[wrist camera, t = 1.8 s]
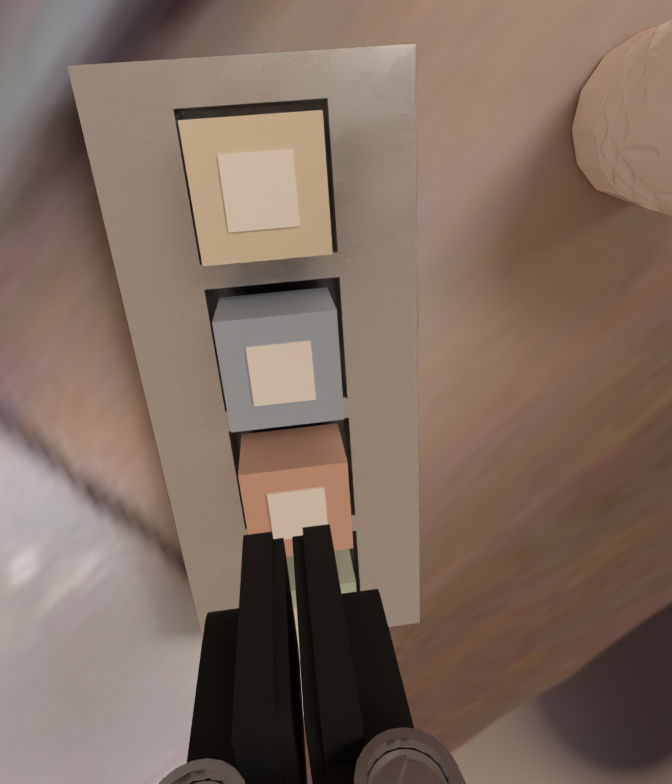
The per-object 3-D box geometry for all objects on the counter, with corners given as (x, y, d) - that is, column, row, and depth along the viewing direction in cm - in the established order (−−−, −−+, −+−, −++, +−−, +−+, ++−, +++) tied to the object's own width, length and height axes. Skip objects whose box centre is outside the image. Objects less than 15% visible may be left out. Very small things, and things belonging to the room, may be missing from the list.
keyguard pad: (397, 55, 22) (415, 43, 20) (407, 584, 34) (419, 622, 31) (92, 75, 21) (67, 65, 19) (210, 611, 33) (205, 653, 30)
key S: (314, 115, 21) (322, 109, 17) (323, 238, 22) (333, 255, 19) (191, 124, 20) (177, 120, 17) (211, 248, 22) (202, 267, 19)
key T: (327, 287, 23) (336, 310, 20) (334, 384, 25) (344, 420, 22) (219, 297, 23) (211, 323, 20) (235, 395, 25) (230, 433, 22)
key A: (337, 423, 26) (347, 463, 23) (343, 502, 28) (353, 549, 25) (241, 434, 26) (237, 476, 22) (254, 513, 27) (252, 563, 24)
